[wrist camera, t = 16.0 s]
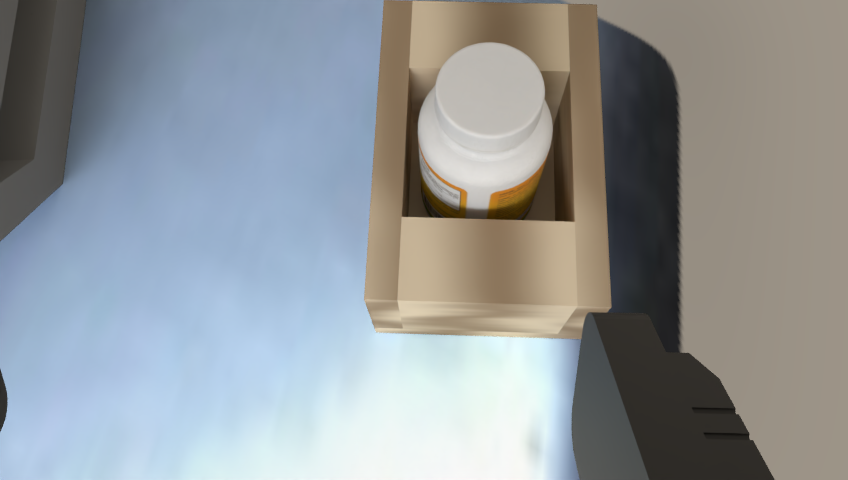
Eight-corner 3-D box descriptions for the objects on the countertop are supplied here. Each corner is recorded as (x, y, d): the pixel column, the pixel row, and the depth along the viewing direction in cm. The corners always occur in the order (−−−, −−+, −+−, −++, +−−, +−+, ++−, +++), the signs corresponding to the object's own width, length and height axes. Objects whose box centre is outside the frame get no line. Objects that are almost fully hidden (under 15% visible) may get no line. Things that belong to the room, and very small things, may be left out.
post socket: (376, 332, 35) (364, 299, 29) (391, 72, 39) (383, 0, 34) (582, 339, 34) (611, 307, 29) (573, 76, 39) (596, 4, 33)
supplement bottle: (536, 148, 36) (569, 30, 27) (528, 251, 35) (561, 162, 26) (427, 137, 37) (424, 17, 28) (414, 239, 35) (406, 147, 26)
